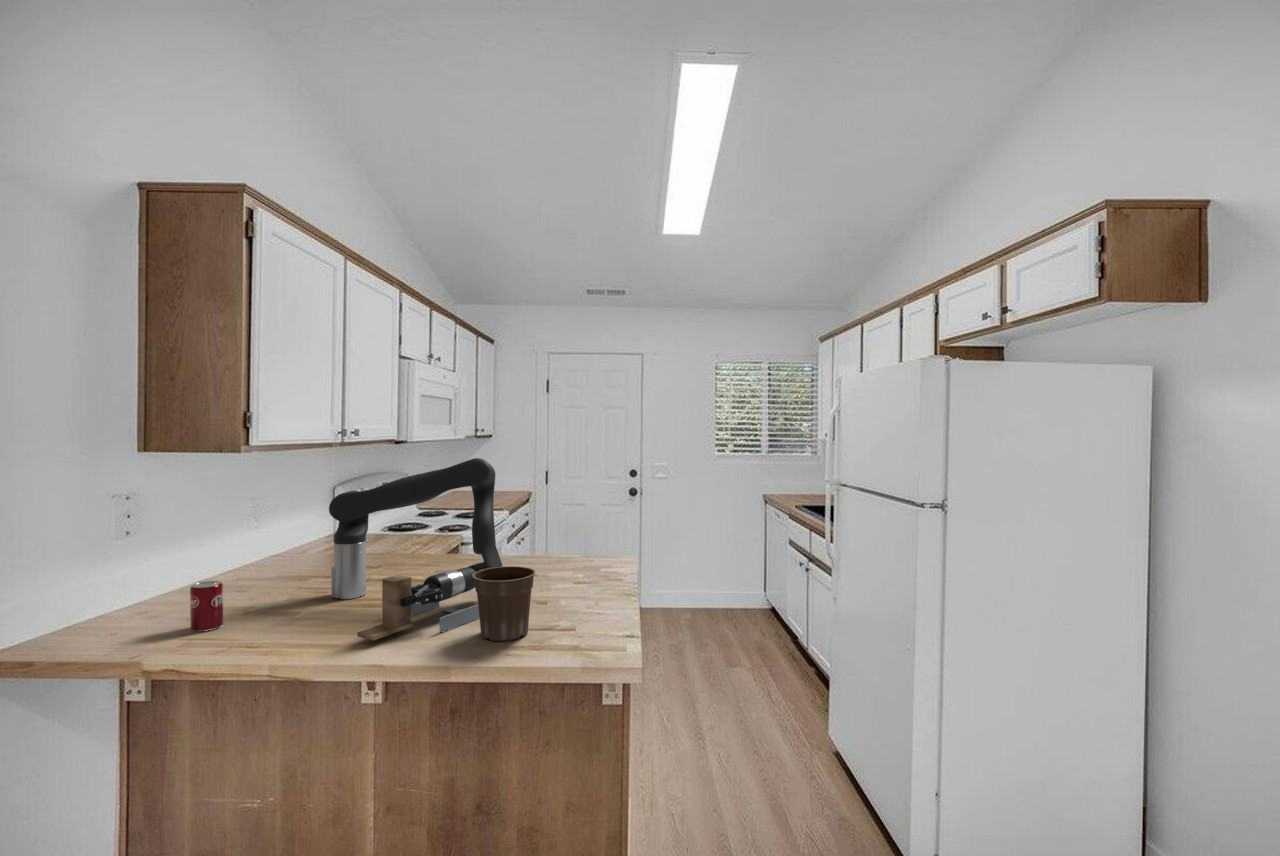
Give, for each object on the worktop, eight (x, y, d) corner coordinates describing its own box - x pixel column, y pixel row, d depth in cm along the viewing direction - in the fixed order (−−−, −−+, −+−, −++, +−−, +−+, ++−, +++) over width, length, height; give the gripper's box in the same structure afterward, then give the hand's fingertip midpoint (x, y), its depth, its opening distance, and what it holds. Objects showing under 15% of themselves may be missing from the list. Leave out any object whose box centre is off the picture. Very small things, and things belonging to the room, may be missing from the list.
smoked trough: (437, 606, 185) (437, 593, 185) (484, 616, 176) (484, 602, 176) (392, 621, 172) (392, 606, 171) (441, 633, 162) (441, 618, 162)
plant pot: (468, 628, 166) (468, 568, 166) (527, 620, 172) (527, 563, 172) (477, 648, 151) (477, 583, 151) (542, 639, 157) (542, 576, 157)
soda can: (188, 634, 161) (187, 588, 161) (193, 626, 167) (192, 582, 167) (221, 630, 164) (221, 585, 164) (225, 622, 171) (224, 579, 170)
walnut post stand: (397, 622, 165) (397, 574, 165) (412, 626, 162) (412, 577, 162) (357, 636, 155) (357, 584, 155) (372, 640, 152) (372, 588, 152)
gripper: (427, 569, 179) (376, 582, 164) (462, 576, 172) (413, 591, 157) (427, 595, 179) (376, 610, 164) (462, 602, 172) (413, 620, 157)
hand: (394, 601), depth 161 cm, fingers closed on walnut post stand, 5 cm apart
